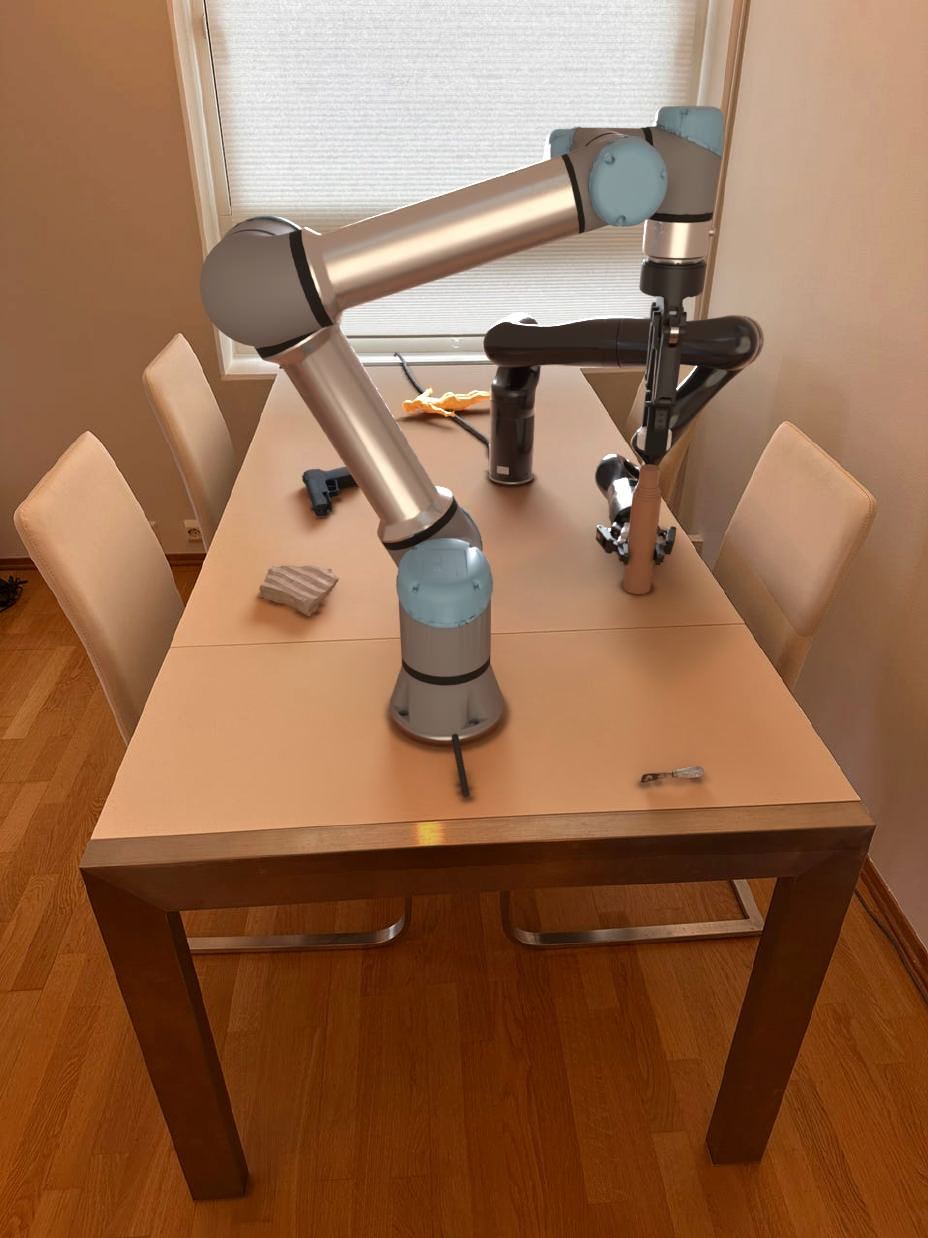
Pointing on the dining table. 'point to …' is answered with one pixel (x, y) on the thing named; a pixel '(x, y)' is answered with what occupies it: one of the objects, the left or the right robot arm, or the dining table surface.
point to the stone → (298, 586)
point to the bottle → (643, 531)
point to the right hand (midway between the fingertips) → (642, 560)
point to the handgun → (326, 487)
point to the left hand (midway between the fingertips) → (652, 446)
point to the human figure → (444, 402)
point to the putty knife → (674, 774)
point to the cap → (643, 435)
